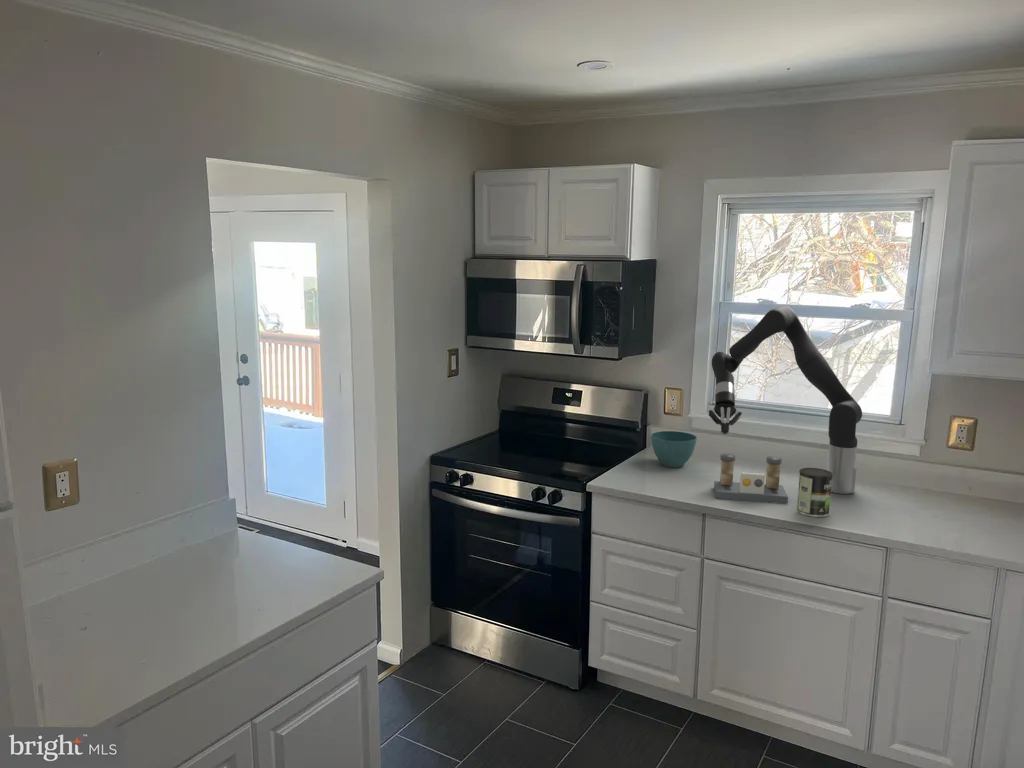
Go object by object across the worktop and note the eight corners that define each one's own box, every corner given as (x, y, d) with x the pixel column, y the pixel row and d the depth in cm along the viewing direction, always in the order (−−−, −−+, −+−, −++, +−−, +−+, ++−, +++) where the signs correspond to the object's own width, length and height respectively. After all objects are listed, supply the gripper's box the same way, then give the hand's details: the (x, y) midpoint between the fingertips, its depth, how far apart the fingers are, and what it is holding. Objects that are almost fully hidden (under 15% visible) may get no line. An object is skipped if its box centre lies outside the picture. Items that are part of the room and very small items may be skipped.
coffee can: (832, 511, 249) (836, 471, 247) (824, 519, 241) (828, 478, 239) (801, 504, 255) (804, 465, 253) (792, 512, 247) (795, 472, 245)
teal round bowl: (641, 461, 307) (642, 433, 305) (676, 456, 315) (678, 429, 312) (667, 473, 291) (669, 443, 289) (704, 468, 298) (706, 438, 296)
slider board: (781, 492, 269) (783, 466, 267) (787, 503, 256) (789, 477, 255) (714, 487, 274) (715, 462, 272) (716, 498, 261) (717, 472, 260)
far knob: (733, 481, 272) (734, 454, 270) (734, 486, 267) (736, 457, 265) (718, 480, 273) (720, 453, 271) (719, 485, 268) (721, 456, 266)
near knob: (778, 485, 268) (780, 456, 266) (780, 489, 263) (782, 460, 261) (763, 483, 269) (765, 455, 268) (765, 488, 264) (767, 459, 262)
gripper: (708, 389, 291) (708, 426, 281) (743, 391, 288) (744, 429, 278) (706, 400, 297) (706, 436, 287) (741, 401, 294) (741, 439, 285)
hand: (725, 433), depth 283 cm, fingers closed
